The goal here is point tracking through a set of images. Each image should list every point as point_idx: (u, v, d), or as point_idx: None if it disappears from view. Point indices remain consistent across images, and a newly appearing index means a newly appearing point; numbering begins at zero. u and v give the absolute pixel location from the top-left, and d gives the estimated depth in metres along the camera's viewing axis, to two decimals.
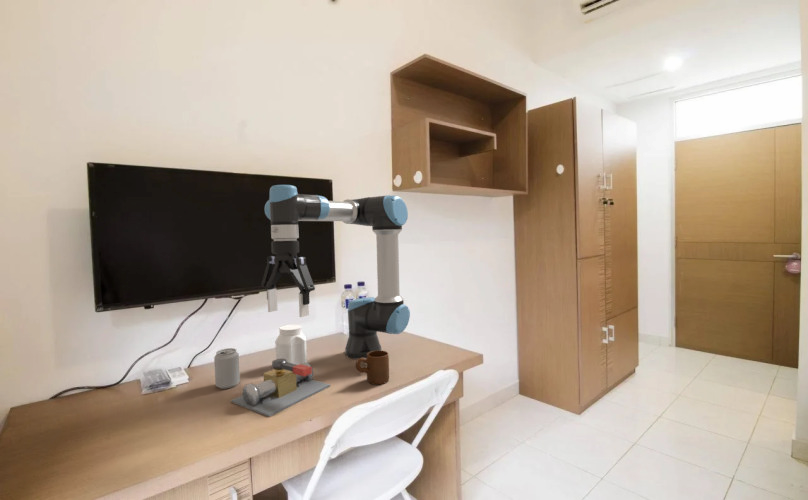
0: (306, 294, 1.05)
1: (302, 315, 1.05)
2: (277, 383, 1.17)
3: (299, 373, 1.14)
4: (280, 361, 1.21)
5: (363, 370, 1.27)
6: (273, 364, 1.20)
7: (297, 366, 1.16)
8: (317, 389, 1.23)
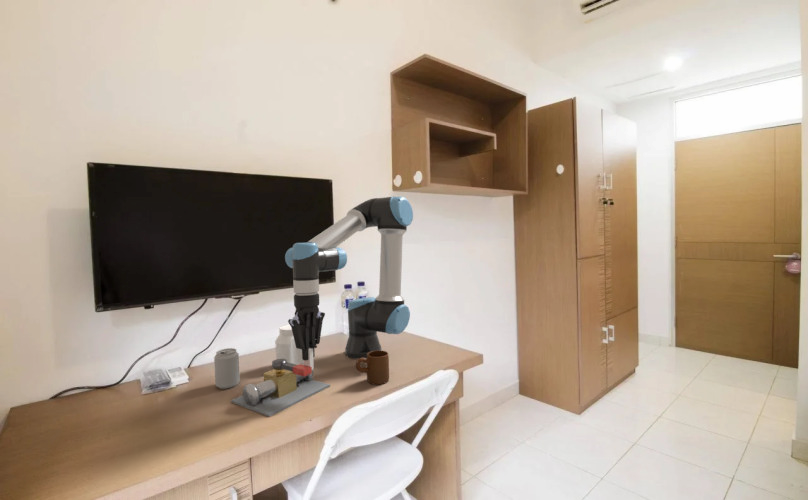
0: (302, 351, 1.16)
1: None
2: (277, 383, 1.17)
3: (299, 373, 1.14)
4: (280, 361, 1.21)
5: (363, 370, 1.27)
6: (273, 364, 1.20)
7: (297, 366, 1.16)
8: (317, 389, 1.23)
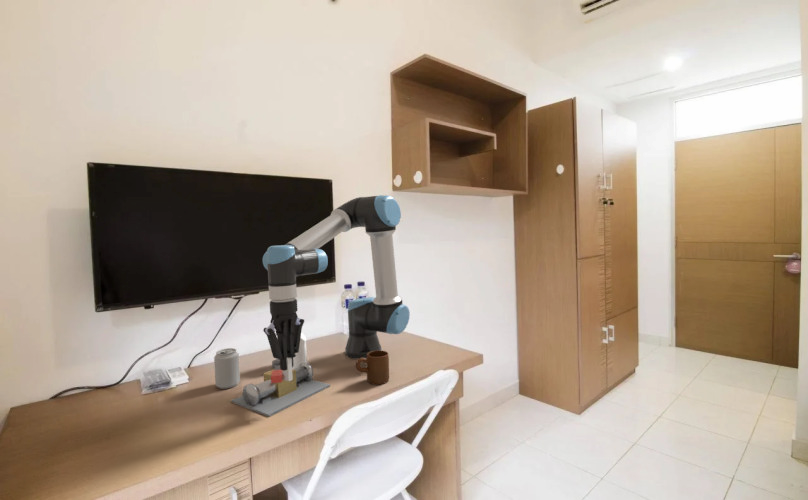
0: (280, 360, 1.09)
1: (283, 378, 1.11)
2: (277, 383, 1.17)
3: None
4: (278, 361, 1.21)
5: (363, 370, 1.27)
6: None
7: (275, 371, 1.13)
8: (317, 389, 1.23)
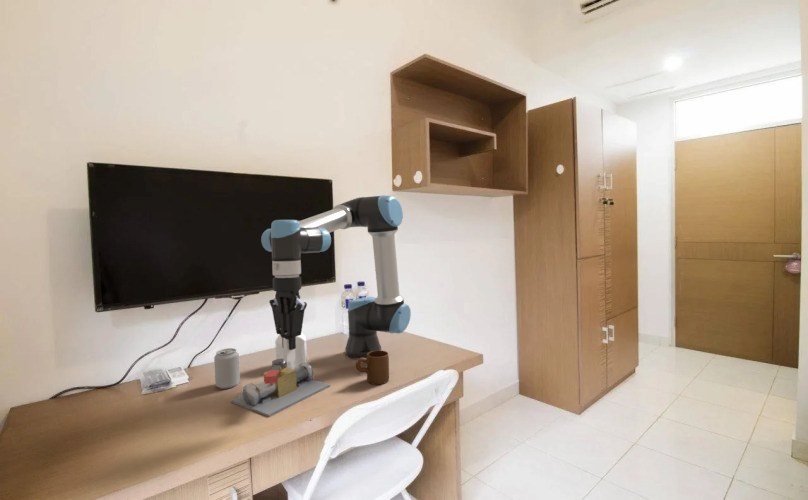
0: (292, 339, 1.05)
1: (288, 360, 1.05)
2: (277, 383, 1.17)
3: None
4: (278, 361, 1.21)
5: (363, 370, 1.27)
6: None
7: (271, 371, 1.13)
8: (317, 389, 1.23)
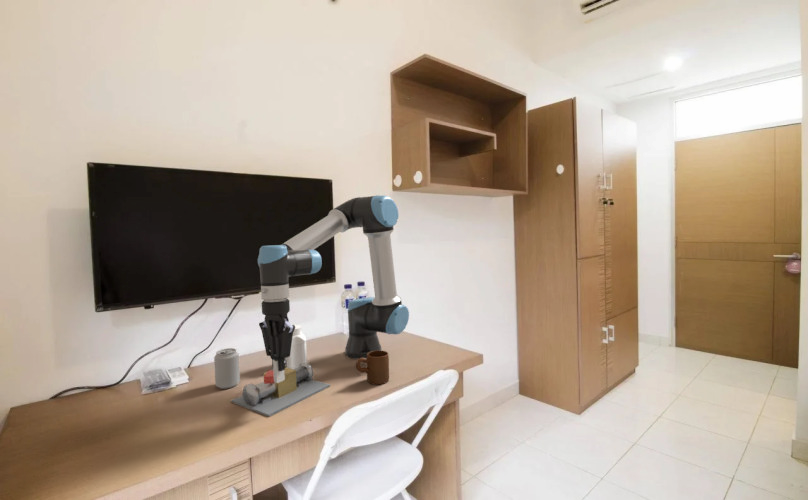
0: (281, 361, 1.08)
1: (278, 381, 1.08)
2: (277, 383, 1.17)
3: None
4: None
5: (363, 370, 1.27)
6: None
7: (271, 371, 1.13)
8: (317, 389, 1.23)
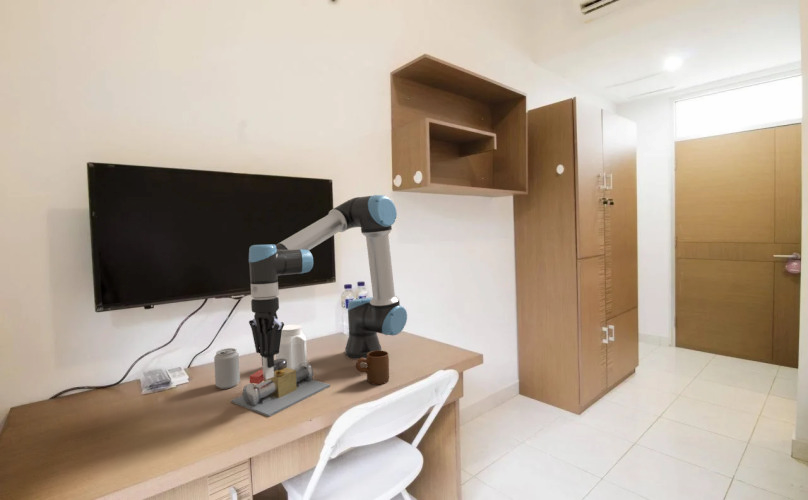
0: (270, 357, 1.10)
1: (267, 378, 1.10)
2: (277, 383, 1.17)
3: None
4: (277, 361, 1.21)
5: (363, 370, 1.27)
6: None
7: (261, 371, 1.13)
8: (317, 389, 1.23)
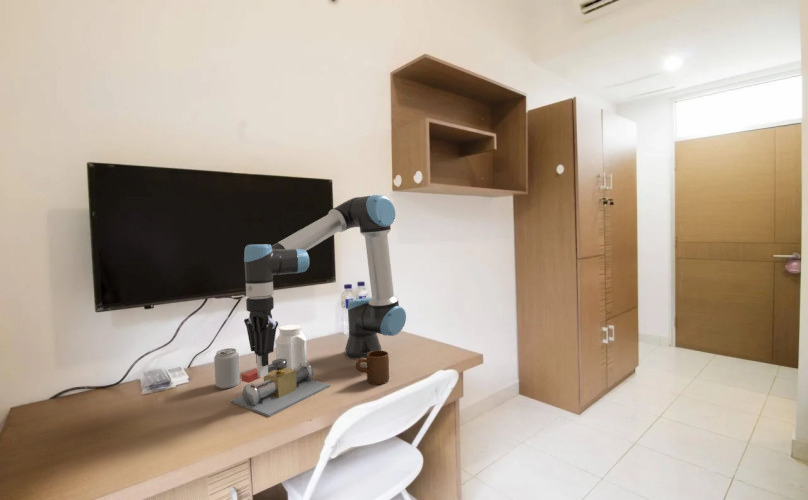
0: (265, 356, 1.12)
1: (261, 376, 1.12)
2: (277, 383, 1.17)
3: None
4: (277, 361, 1.21)
5: (363, 370, 1.27)
6: None
7: (255, 370, 1.14)
8: (317, 389, 1.23)
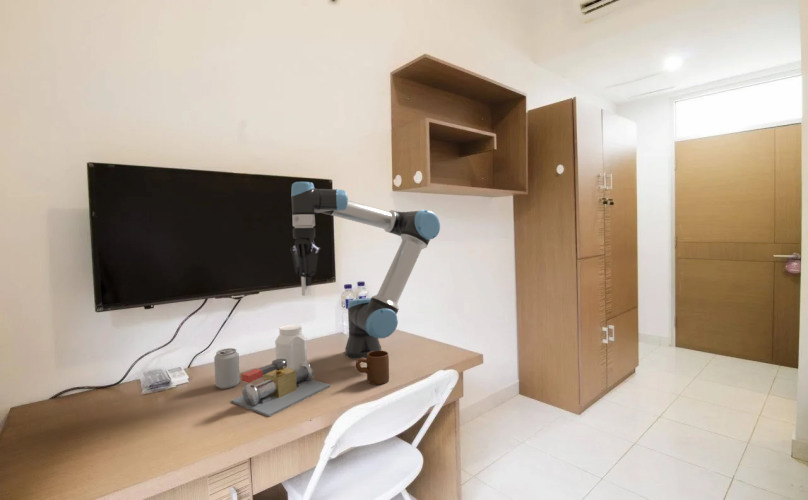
0: (308, 277, 1.32)
1: (305, 294, 1.32)
2: (277, 383, 1.17)
3: None
4: (277, 361, 1.21)
5: (363, 370, 1.27)
6: None
7: (255, 370, 1.14)
8: (317, 389, 1.23)
